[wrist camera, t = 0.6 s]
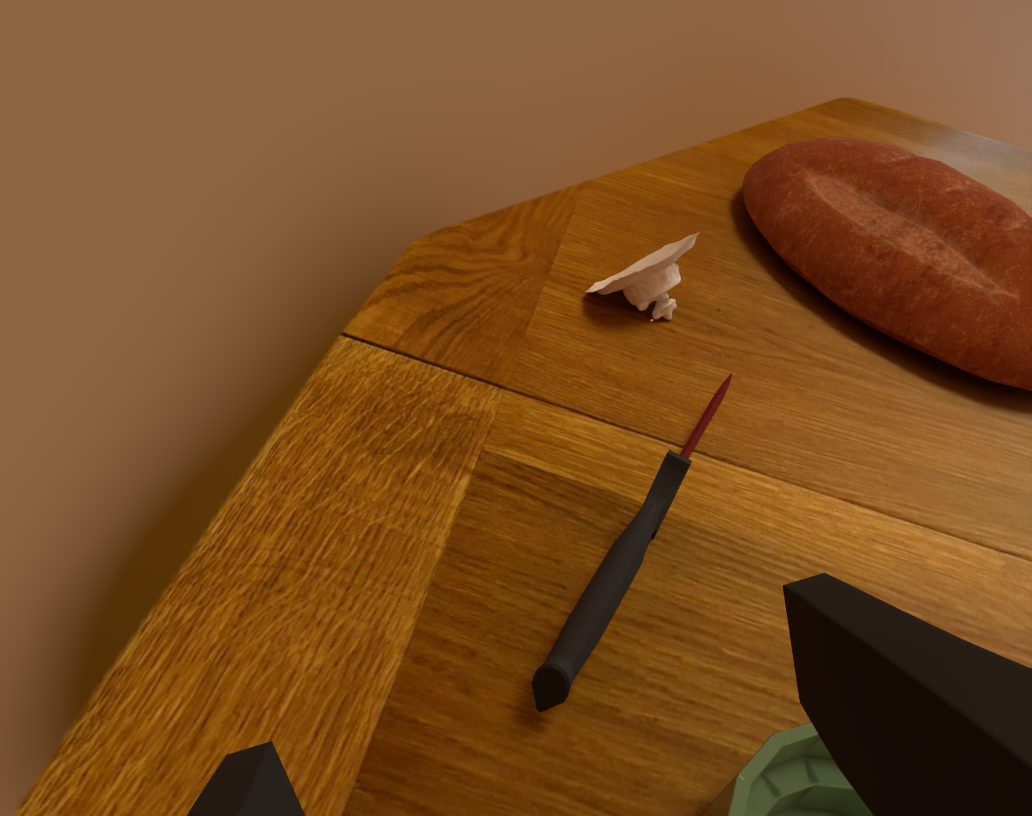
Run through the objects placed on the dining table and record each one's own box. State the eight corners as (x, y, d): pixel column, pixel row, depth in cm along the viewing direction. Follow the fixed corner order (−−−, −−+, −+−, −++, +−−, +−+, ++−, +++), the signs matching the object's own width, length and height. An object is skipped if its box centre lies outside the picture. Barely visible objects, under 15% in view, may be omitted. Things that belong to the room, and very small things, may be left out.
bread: (1013, 455, 50) (1109, 343, 44) (666, 203, 67) (703, 98, 61) (1146, 364, 62) (1235, 267, 56) (824, 171, 79) (868, 80, 73)
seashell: (622, 359, 56) (635, 328, 48) (577, 299, 57) (584, 260, 49) (714, 294, 56) (742, 254, 49) (669, 236, 57) (689, 187, 49)
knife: (551, 732, 31) (583, 664, 28) (517, 711, 31) (546, 641, 28) (728, 410, 48) (761, 344, 45) (705, 399, 48) (737, 333, 45)
